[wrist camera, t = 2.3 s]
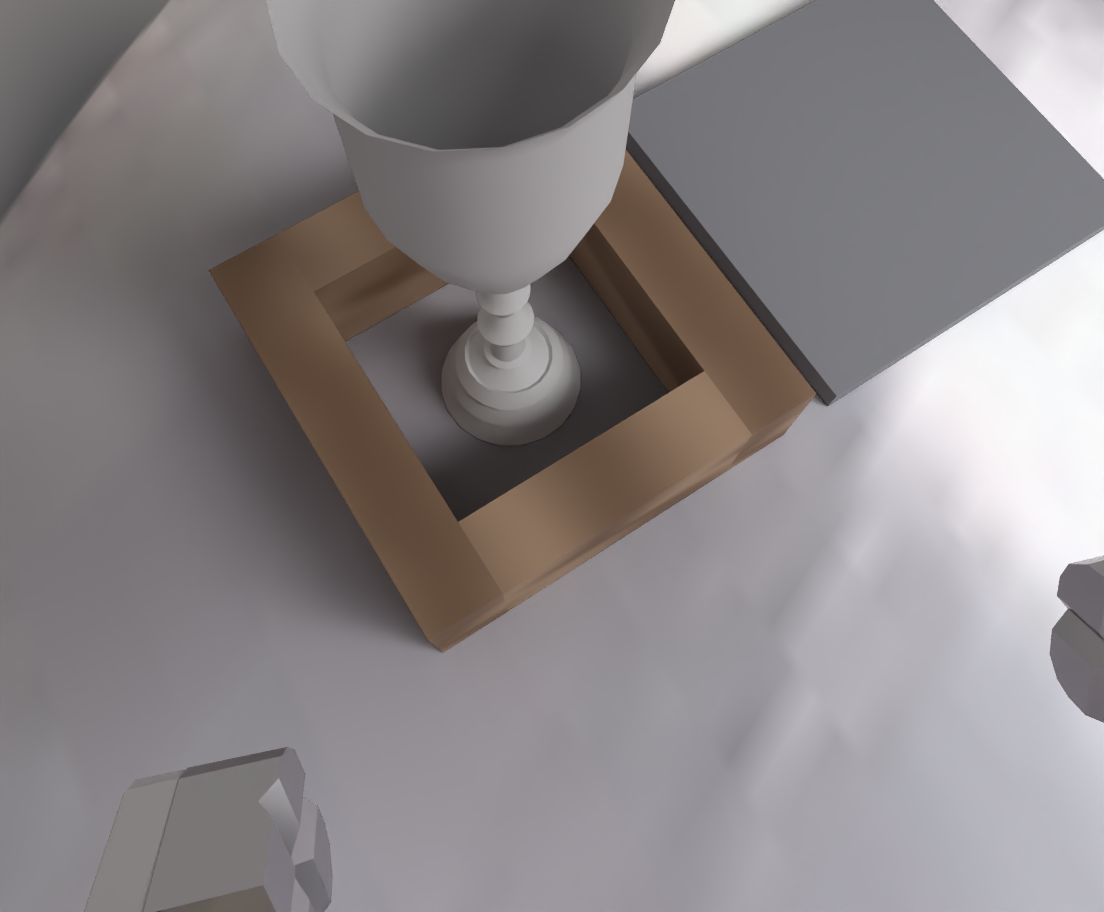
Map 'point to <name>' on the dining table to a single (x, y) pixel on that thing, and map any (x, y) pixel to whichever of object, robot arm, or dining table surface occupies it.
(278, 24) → the chalice
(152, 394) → the dining table surface
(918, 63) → the grey mat
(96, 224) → the dining table surface
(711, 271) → the walnut holder
